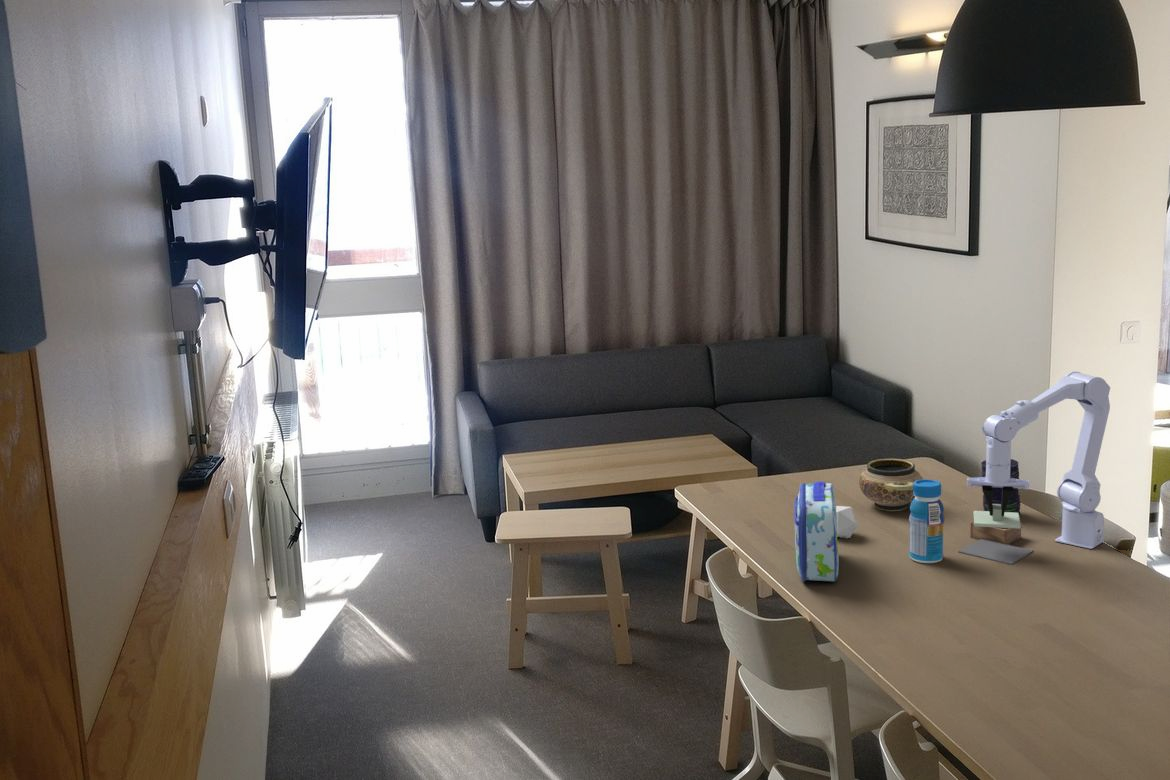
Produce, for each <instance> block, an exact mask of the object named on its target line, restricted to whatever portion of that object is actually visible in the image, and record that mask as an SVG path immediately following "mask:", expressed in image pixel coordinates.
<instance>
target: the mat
mask: <svg viewBox="0 0 1170 780" xmlns="http://www.w3.org/2000/svg"><path fill="white" fill-rule="evenodd" d="M1033 552H1034V549H1030V548H1029V549H1028V548H1024V547H1019V546H1016V545H1011V544H1009V545H1007V544H1003V543H998V542H994V541H989V540H985V539H977V540H975V541H974V542H973V543H971V544H969V545H967V546H965V547H964V548H962V549H960V550H958V553H960V554H961V553H962V554H965V555H968V556H972V557H978V558H981V559H986V560H989V561H994V562H999V563H1001V564H1002V563H1003V564H1006V565H1011V566H1012V565H1014V564H1015V563H1016V562H1019V561H1020V560H1022V559H1024V558H1025V557H1026V556H1027V557H1028V556H1029V555H1030V554H1031V553H1033Z"/></svg>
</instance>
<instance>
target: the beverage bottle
mask: <svg viewBox="0 0 1170 780" xmlns="http://www.w3.org/2000/svg"><path fill="white" fill-rule="evenodd" d="M913 494H914V496H915V498H914V499H913V501H911V502H910V506H909V510H910V514H909V516H908V521H909V553H908V554H909V558H910V559H911V560H912V561H913V562H917V563H921V564H936V563H939V562H941V561H943V558H944V524H945V516H944V514H943V513H944V511H945V508H944V504H943V503H942V501H941V499H940V498H941V495H942V484H941V482H940V481H938V480H934V479H926V478H925V479H924V478H923V479H922V480H917V481H915V482H914V483H913Z"/></svg>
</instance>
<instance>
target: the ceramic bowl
mask: <svg viewBox="0 0 1170 780" xmlns="http://www.w3.org/2000/svg"><path fill="white" fill-rule="evenodd" d="M915 466H916V465H915V463H914V462H913V461H912V460H911V461H910V460H908V459H903V458H878V459H873V460H871V461H868V462H867V464H866V469H865V470H863V471H862V472H861V474H860V475H859V478H858V486H859V488H860V491H861V493H862V494H863V495H864V496H865V497H866V499H868V500H870V501H871V502H872V503H873V506H874V508H876V509H878V510H880V511H884V510H885V511H886V512H900V511H904V510H906V509H907V508H908V504H909V503H912V501H913V499H914V498H915V496H914V494H913V483H914V482H915V481H917V480H922V479H924V478H923V476H922V475H921V473H920V472H919V471H918V470H917V469H916V468H915Z"/></svg>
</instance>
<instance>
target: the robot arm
mask: <svg viewBox="0 0 1170 780" xmlns="http://www.w3.org/2000/svg"><path fill="white" fill-rule="evenodd" d="M1110 391H1111V386H1110V385H1109V384H1108V383H1107V381H1106V380H1105V379H1104V378H1102V377H1099V376H1093V375H1090V374H1085V373H1083V372H1080V371H1076V370H1075V371H1071V372H1069V373H1067V374H1066V375H1064V376H1061V377H1060V379H1059V380H1058V382H1057V383H1055V384H1054V385H1053V386H1051V387H1049V388H1048V389H1047V390H1045V391H1043V392H1042V393H1041V394H1039V395H1038V396H1037V397H1035V398H1033V399H1032V400H1028V399H1023V400H1021V399H1020V400H1017V401H1016V402H1015V403H1016V404H1014V405H1012V406H1011V407H1010V408H1008V409H1006V410H1002V411H1000V413H999V415H998V414H993V415H989V417H988V418H986V419H985V420H984V423H983V425H981V430H982V433H983V434H984V435H985V442H986V454H985V455H986V456H985V457H986V458H985V460H986V477H982V476H981V477H980V476H979V477H966V487H967V488H972V487H974V488H975V487H976V488H978V487H979V488H981V490H982V493H983V495H985V498H986V500H987V503H988V506H989V511H990V516H993V504H992V503H993V488H992V487H998V488H1002V503H1001V509H1002V514H1001V516H1004V513H1005V509H1006V506H1007V504H1008V502H1009V500H1010V498H1011V496H1012V494H1013V488H1018V489H1022V490H1023V489H1024V490H1029V489H1030V481H1029V479H1020V478H1019V479H1013V478H1010V461H1011V459H1012V458H1011V457H1012V456H1011V455H1012V452H1011V450H1012V440H1013V439H1015V437H1016V436H1017V433H1018V432H1019V431H1020V430H1021V429H1023V428H1025V427H1026V426H1029V425H1030V424H1031V423H1033V422H1035V421H1036V420H1037V419H1039V415H1040V413H1041V412H1043V411H1045V410H1046V409H1048V408H1051V407H1052V406H1055V405H1057V404H1058V403H1060V402H1062V401H1065V400H1076V401H1077V402H1078V403H1079V405H1080V406H1081V407H1082V409H1083V410H1084V413H1083V417H1082V423H1081V427H1080V431H1079V435H1078V440H1077V444H1076V449H1075V452H1074V453H1075V454H1074V457H1073V463H1072V466H1071V469H1070V470H1068V471H1067V472H1065V473H1064V474H1063V477H1062V480H1061V481H1060V483H1059V485H1058V487H1057V489H1056V495H1057V497H1058V499H1059V500H1060V501H1061V506H1062V514H1061V515H1062V517H1061V518H1062V519H1061V535H1060V536H1058V537H1057V538H1055V540H1054V541H1055V542H1057V543H1062V544H1067V545H1071V546H1075V547H1080V548H1081V547H1082V548H1085V549H1089V550H1092V549H1094V548H1096V547H1097V546H1098V545H1100V544H1102V543H1103V542H1105V539H1104V531H1105V530H1104V529H1105V515H1104V514H1103V513H1102V512H1101V511H1097V510H1096V509H1097V508H1098V507H1099V505H1100V503H1101V499H1102V498H1101V494H1100V493H1101V492H1100V491H1101V489H1100V488H1101V482H1100V481H1099V479H1098V477H1097V476H1096V470H1097V466H1098V462H1099V457H1100V453H1101V449H1102V444H1103V440H1104V435H1105V431H1106V427H1107V423H1108V418H1109V414H1110V410H1111V409H1110V407H1111V403H1110V399H1109V395H1110Z"/></svg>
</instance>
